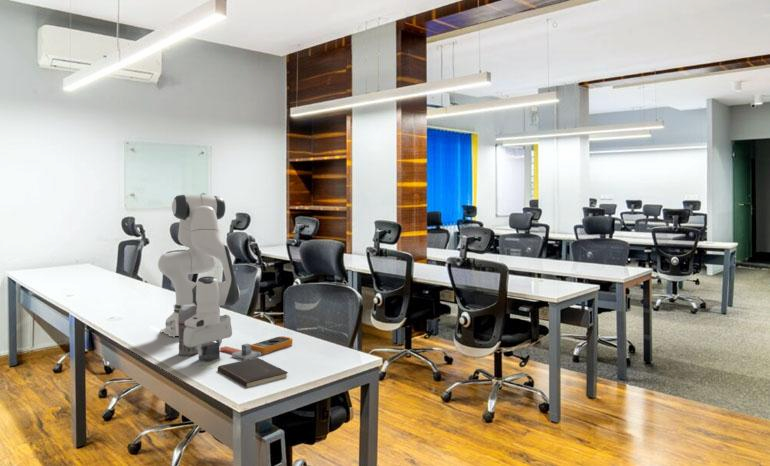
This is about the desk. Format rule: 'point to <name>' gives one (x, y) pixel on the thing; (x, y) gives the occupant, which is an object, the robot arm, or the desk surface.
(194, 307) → the spray can
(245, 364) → the hardcover book
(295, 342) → the desk surface
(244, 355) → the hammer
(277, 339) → the multimeter
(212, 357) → the brushed metal cube
